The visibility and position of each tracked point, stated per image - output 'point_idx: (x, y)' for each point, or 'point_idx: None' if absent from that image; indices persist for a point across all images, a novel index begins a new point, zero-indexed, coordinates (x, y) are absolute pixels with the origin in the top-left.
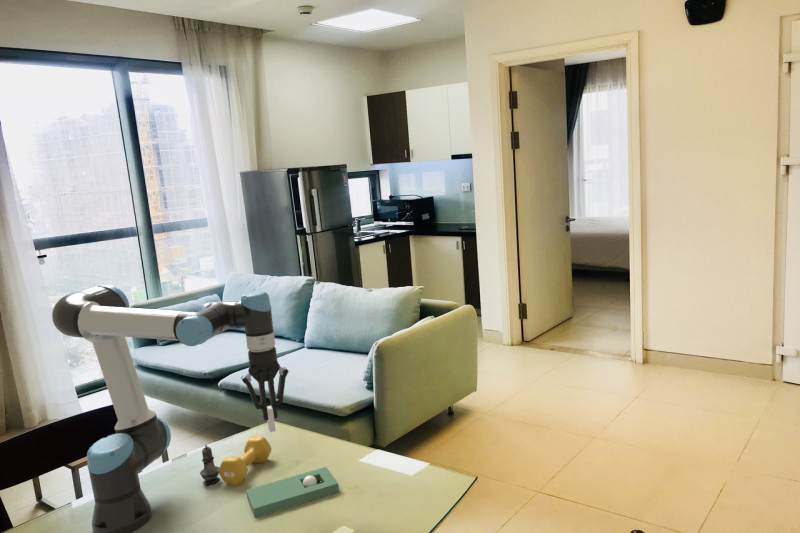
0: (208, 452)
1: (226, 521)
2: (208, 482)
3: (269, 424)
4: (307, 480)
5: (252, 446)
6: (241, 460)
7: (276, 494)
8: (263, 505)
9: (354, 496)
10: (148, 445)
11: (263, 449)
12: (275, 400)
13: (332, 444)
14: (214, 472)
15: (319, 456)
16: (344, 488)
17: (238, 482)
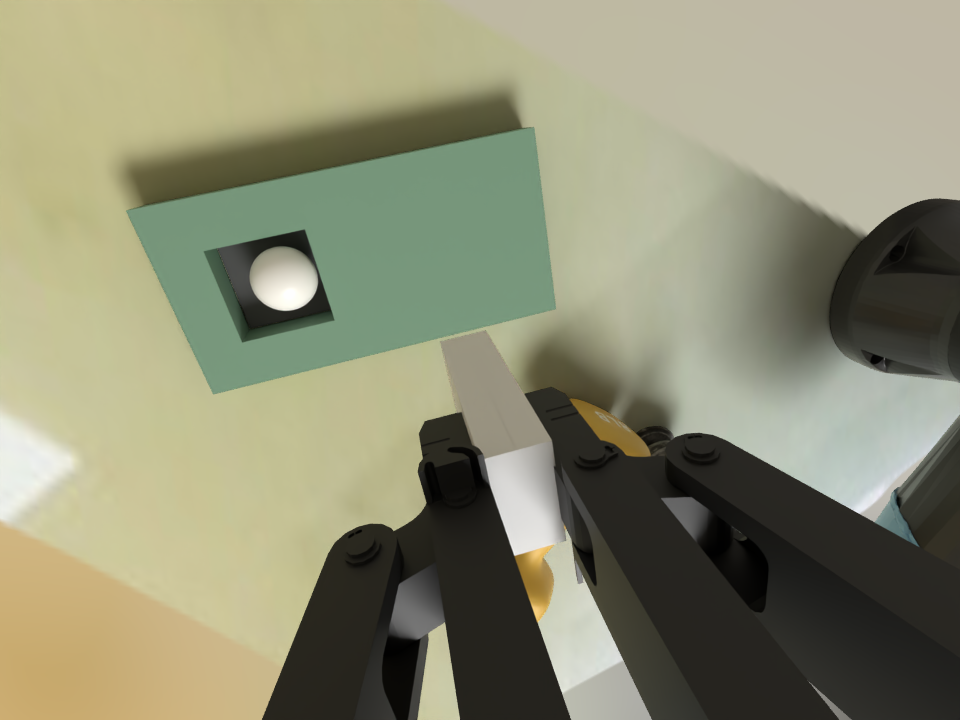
0: None
1: (625, 145)
2: (661, 440)
3: (500, 356)
4: (288, 264)
5: (529, 574)
6: None
7: (434, 218)
8: (491, 139)
9: (48, 123)
10: None
11: None
12: (443, 561)
13: (221, 601)
14: (657, 455)
15: (270, 526)
16: (119, 226)
17: (573, 399)
